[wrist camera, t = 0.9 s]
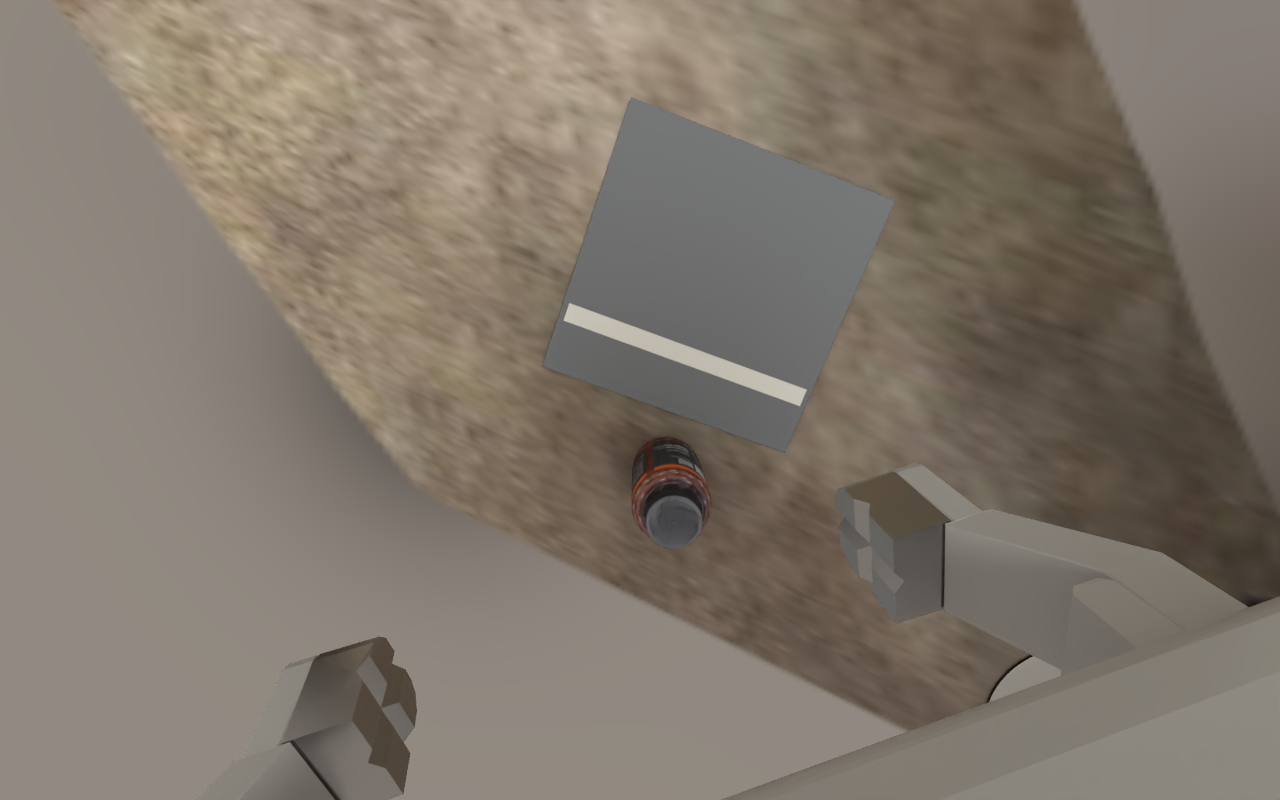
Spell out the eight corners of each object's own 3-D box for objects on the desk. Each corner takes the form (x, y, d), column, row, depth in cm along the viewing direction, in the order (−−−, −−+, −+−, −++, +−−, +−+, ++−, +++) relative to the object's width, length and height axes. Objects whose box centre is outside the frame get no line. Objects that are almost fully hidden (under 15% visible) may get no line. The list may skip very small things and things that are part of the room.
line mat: (892, 201, 46) (896, 200, 45) (783, 451, 51) (785, 453, 50) (631, 98, 45) (631, 96, 44) (543, 365, 49) (541, 366, 48)
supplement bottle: (636, 504, 52) (634, 567, 41) (628, 440, 50) (624, 487, 39) (703, 496, 52) (720, 558, 40) (697, 432, 50) (712, 477, 39)
